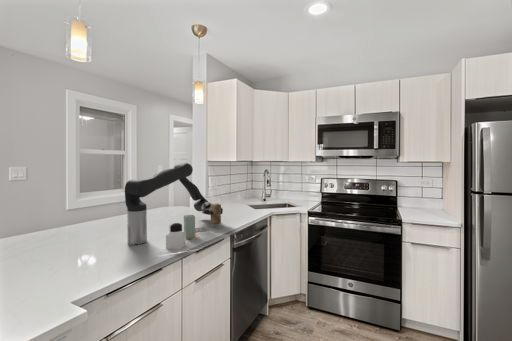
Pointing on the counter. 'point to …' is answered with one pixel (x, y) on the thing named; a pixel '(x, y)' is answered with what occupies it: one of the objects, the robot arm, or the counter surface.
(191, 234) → the sage block
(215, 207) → the walnut block
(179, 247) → the medicine bottle
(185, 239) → the oak tile
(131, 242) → the robot arm
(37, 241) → the counter surface
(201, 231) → the slate tile
